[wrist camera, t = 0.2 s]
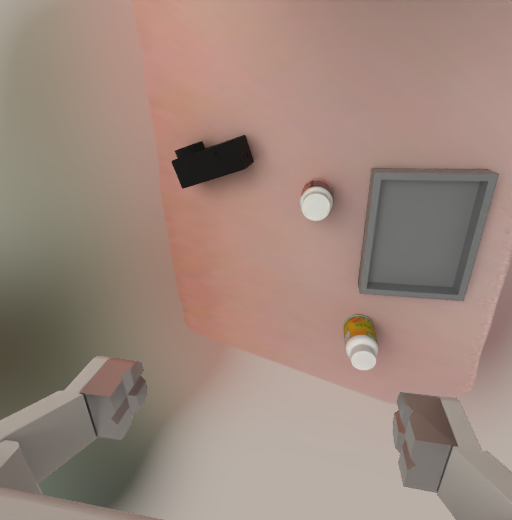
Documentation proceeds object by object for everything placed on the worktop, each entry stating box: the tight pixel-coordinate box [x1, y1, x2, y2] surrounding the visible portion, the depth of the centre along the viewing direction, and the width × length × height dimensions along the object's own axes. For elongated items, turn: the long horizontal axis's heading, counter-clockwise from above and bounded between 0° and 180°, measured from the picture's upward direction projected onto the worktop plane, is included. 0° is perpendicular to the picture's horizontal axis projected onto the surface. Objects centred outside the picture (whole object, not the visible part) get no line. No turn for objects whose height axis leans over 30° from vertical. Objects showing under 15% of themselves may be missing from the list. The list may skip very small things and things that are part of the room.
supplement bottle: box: [344, 315, 378, 370], centre depth 59 cm, size 5×5×10 cm
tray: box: [358, 168, 499, 301], centre depth 53 cm, size 20×16×4 cm
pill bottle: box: [300, 179, 333, 221], centre depth 51 cm, size 5×5×8 cm
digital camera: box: [172, 135, 254, 188], centre depth 52 cm, size 10×5×7 cm, turn 109°
